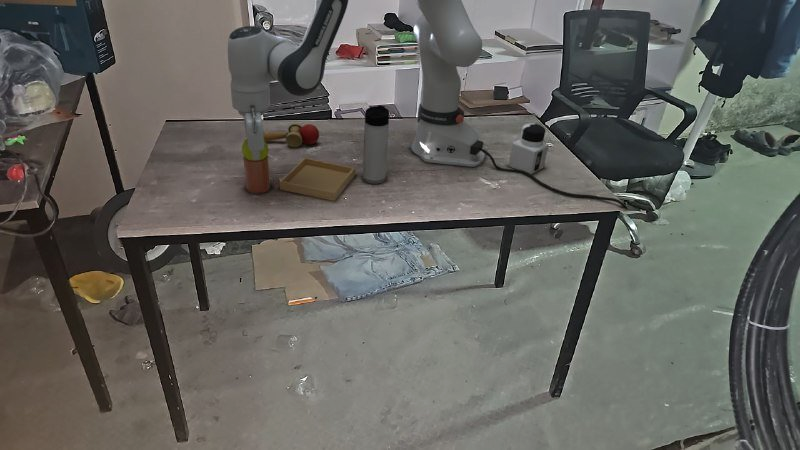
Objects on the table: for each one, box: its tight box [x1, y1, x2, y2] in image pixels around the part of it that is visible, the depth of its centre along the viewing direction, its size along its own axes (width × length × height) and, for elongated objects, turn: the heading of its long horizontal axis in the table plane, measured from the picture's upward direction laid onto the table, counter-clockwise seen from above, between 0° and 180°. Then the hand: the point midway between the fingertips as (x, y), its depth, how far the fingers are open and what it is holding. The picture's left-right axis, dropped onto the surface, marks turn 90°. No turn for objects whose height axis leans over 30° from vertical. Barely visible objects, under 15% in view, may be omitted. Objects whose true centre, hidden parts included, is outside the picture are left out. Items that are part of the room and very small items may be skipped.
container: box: [508, 123, 550, 175], centre depth 163 cm, size 8×8×13 cm
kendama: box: [263, 122, 320, 148], centre depth 168 cm, size 8×6×18 cm
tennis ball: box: [241, 138, 269, 161], centre depth 140 cm, size 6×6×6 cm
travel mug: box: [362, 104, 390, 185], centre depth 149 cm, size 6×7×20 cm
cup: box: [243, 154, 271, 194], centre depth 143 cm, size 6×6×9 cm
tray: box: [279, 157, 356, 202], centre depth 150 cm, size 15×15×2 cm
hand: (255, 152), depth 140 cm, fingers closed on tennis ball, 6 cm apart
